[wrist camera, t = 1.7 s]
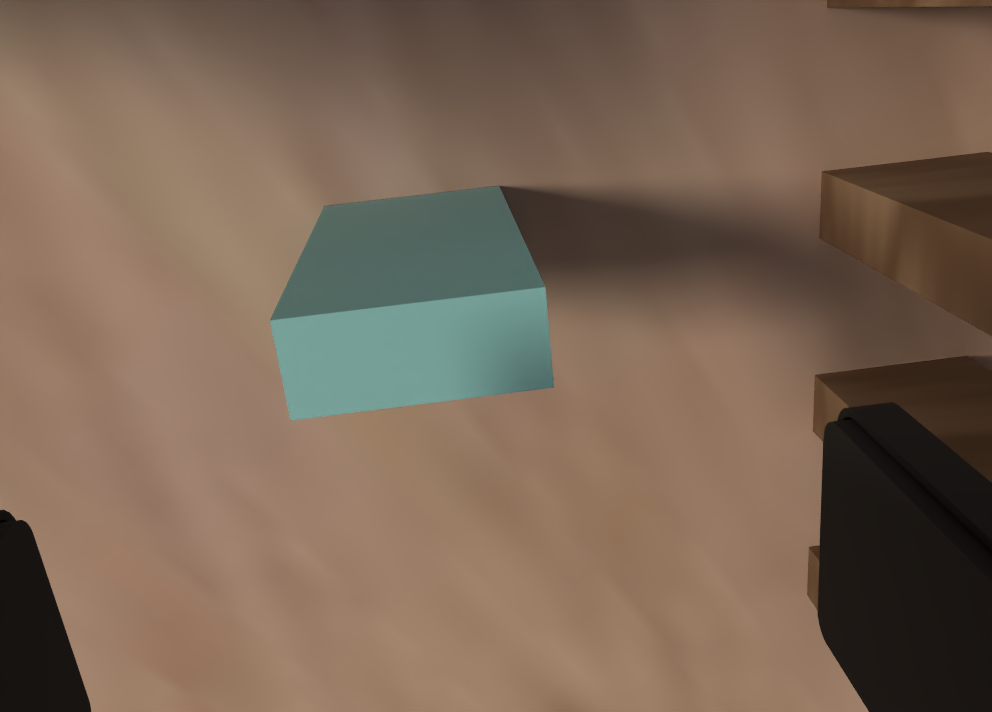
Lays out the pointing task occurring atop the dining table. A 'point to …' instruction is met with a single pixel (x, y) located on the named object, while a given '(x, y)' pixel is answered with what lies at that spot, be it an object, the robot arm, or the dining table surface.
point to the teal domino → (412, 306)
